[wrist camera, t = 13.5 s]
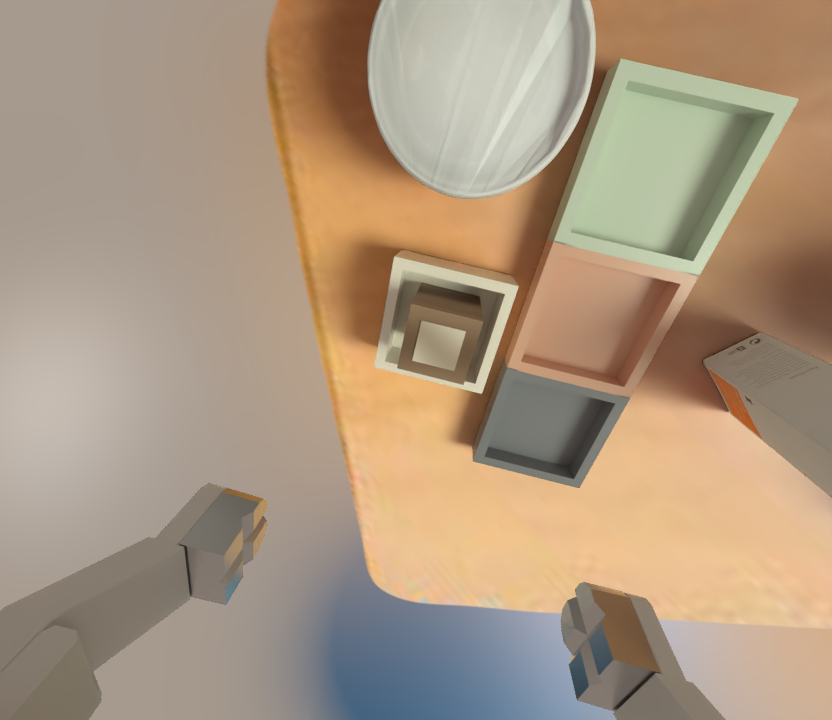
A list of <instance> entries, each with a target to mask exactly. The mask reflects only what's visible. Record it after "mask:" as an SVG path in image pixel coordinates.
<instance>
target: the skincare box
mask: <svg viewBox="0 0 832 720" xmlns="http://www.w3.org/2000/svg"><path fill="white" fill-rule="evenodd" d="M703 363H704V365H705V366H706V368H707V370H708V372H709V373H710V375H711V377H712V379H713V381H714V382H715V384H716V386H717V388H718V390H719V392H720V394H721V396H722V398H723V400H724V402H725V404H726V406H727V408H728V410H729V412H730V414H731V415H733V416H734V417H735V418H736V419H738V420H739V421H740V422H741V423H742V424H743V425H745V426H746V427H747V428H748V429H749V430H751V431H752V432H753V433H754V434H755V435H757V436H758V437H759V438H760V439H762V440H763V441H764V442H765V443H766V444H768V445H769V446H770V447H771V448H773V449H774V450H775V451H776V452H777V453H778V454H780V455H781V456H782V457H783V458H784V459H786V460H787V461H788V462H789V463H790V464H792V465H793V466H794V467H795V468H797V469H798V470H799V471H800V472H801V473H803V474H804V475H805V476H806V477H808V478H809V479H810V480H811V481H812V482H814V483H815V484H816V485H817V486H818V487H820V488H821V489H822V490H823V491H824V492H826V493H827V494H828V495H829V496H830V497H832V364H829V363H827V362H825V361H823V360H821V359H819V358H817V357H814V356H813V355H810V354H808V353H806V352H804V351H802V350H800V349H798V348H796V347H793V346H791V345H789V344H787V343H785V342H783V341H780V340H778V339H776V338H774V337H772V336H770V335H768V334H765V333H763V332H761V333H758V334H756V335H754V336H752V337H749V338H747V339H745V340H743V341H741V342H739V343H737V344H735V345H733V346H731V347H729V348H727V349H725V350H723V351H721V352H719V353H717V354H714V355H712V356H710V357H708V358H706V359H704V360H703Z"/></svg>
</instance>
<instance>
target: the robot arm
mask: <svg viewBox="0 0 832 720" xmlns="http://www.w3.org/2000/svg"><path fill="white" fill-rule="evenodd" d="M266 510H267V499H263V498H260V497H256V496H253V495H250V494H246V493H243V492H239V491H236V490H232V489H229V488H226V487H221V486H217V485H214V484H210V483H208V484H206V485H205V486H203V487H202V488H201V489H200V490H199V491H198V492H197V493H196V494H195V495H194V496H193V497H192V499H191V500H190V501H189V502H188V503H187V504H186V505H185V506H184V507H183V508H182V509H181V511H180V512H179V513H178V514H177V515H176V516H175V517H174V518H173V519H172V520H171V522H170V523H169V524H168V525H167V526H166V527H165V528H164V529H163V530H162V531H161V533H160V534H159V535H158V536H157V537H156V538H150V537H148V538H146V539H144V540H142V541H140V542H138V543H136V544H134V545H132V546H130V547H127V548H125V549H123V550H122V551H119V552H117V553H115V554H113V555H111V556H109V557H107V558H105V559H103V560H101V561H99V562H97V563H95V564H93V565H91V566H89V567H86V568H84V569H82V570H80V571H78V572H76V573H74V574H72V575H70V576H68V577H66V578H64V579H62V580H60V581H58V582H56V583H53V584H51V585H49V586H47V587H45V588H44V589H41V590H39V591H37V592H35V593H33V594H31V595H29V596H27V597H25V598H23V599H21V600H18V601H17V602H14V603H12V604H10V605H8V606H6V607H4V608H3V609H2V610H1V611H0V720H89V718H90V717H91V715H92V714H93V713H94V711H95V710H96V708H97V707H98V706H99V704H100V703H101V690H100V688H99V685H98V683H97V680H96V678H95V675H94V673H93V671H94V670H95V669H97V668H98V667H100V666H101V665H102V664H104V663H105V662H106V661H108V660H109V659H110V658H111V657H113V656H114V655H116V654H117V653H118V652H120V651H121V650H123V649H124V648H125V647H126V646H128V645H129V644H131V643H132V642H133V641H134V640H136V639H137V638H139V637H140V636H141V635H143V634H144V633H145V632H147V631H148V630H149V629H151V628H152V627H153V626H155V625H156V624H157V623H159V622H160V621H162V620H163V619H164V618H166V617H167V616H168V615H170V614H171V613H172V612H174V611H175V610H176V609H178V608H179V607H180V606H182V605H183V604H184V603H186V602H187V601H188V600H190V597H195V598H199V599H203V600H207V601H211V602H216V603H220V604H224V605H226V604H227V603H228V601H229V600H230V598H231V596H232V594H233V593H234V591H235V589H236V588H237V586H238V584H239V583H240V581H241V579H242V578H243V565H245V564H247V563H248V562H249V561H251V560H253V559H254V557H255V555H256V553H257V552H258V550H259V548H260V545H261V543H262V541H263V538H264V536H265V531H266V527H267V520H266V519H265V518H264V516H263V515H264V513H265V511H266ZM575 592H576V596H577V597H575V598H572V599H570V600H568V601H567V602H566V604H565V606H564V607H563V610H562V616H561V629H562V635H563V640H564V643H565V645H566V646H567V648H568V649H569V650H570V652H571V653H572V655H573V656H572V658H571V661H570V663H569V667H570V672H571V676H572V680H573V685H574V689H575V694H576V698H577V700H578V701H582V702H585V703H588V704H591V705H595V706H598V707H601V708H604V709H608V710H611V711H614V712H615V713H614V715H615V717H616V719H617V720H725V719H724V717H722V715H721V714H720V713H719V712H718V711H717V710H716V708H715V707H714V706H713V705H712V704H711V703H710V702H709V701H708V699H707V698H706V697H705V696H704V695H703V694H702V693H701V691H700V690H699V689H698V688H697V687H696V686H695V685H694V684H693V683H691V682H688V681H686V679H685V677H684V675H683V673H682V671H681V668H680V666H679V664H678V662H677V660H676V657H675V656H674V653H673V651H672V649H671V647H670V644H669V643H668V640H667V638H666V636H665V634H664V631H663V629H662V627H661V625H660V623H659V621H658V618H657V616H656V614H655V612H654V610H653V607H652V606H651V604H650V603H649V602H648V600H647V599H646V598H643V597H639V596H635V595H631V594H627V593H623V592H622V591H618V590H614V589H610V588H606V587H602V586H598V585H594V584H590V583H585V582H583V583H580V584H579V585H578V586H577V588H576V589H575Z"/></svg>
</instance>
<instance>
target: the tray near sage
mask: <svg viewBox="0 0 832 720" xmlns="http://www.w3.org/2000/svg"><path fill="white" fill-rule="evenodd" d="M798 100H799V99H798V98H794V97H789V96H785V95H780V94H776V93H771V92H767V91H762V90H758V89H754V88H749V87H745V86H740V85H736V84H731V83H727V82H722V81H718V80H713V79H709V78H705V77H700V76H696V75H691V74H687V73H682V72H678V71H673V70H669V69H665V68H660V67H656V66H651V65H647V64H642V63H638V62H633V61H629V60H624V59H620V60H619V61H618V62H617V63H616V64H614V65H613V66H612V67H611V68H610V69H609V70H608V71H607V73H606V76H605V79H604V81H603V84H602V87H601V90H600V93H599V95H598V98H597V101H596V104H595V107H594V109H593V112H592V115H591V118H590V121H589V123H588V126H587V129H586V132H585V134H584V137H583V140H582V143H581V146H580V148H579V151H578V154H577V157H576V160H575V162H574V165H573V168H572V171H571V173H570V176H569V179H568V182H567V185H566V187H565V190H564V193H563V196H562V199H561V201H560V204H559V207H558V210H557V213H556V215H555V218H554V221H553V224H552V226H551V229H550V232H549V235H548V240H551V241H552V242H554V241H555V243H559V244H564V245H570V246H572V247H573V246H575V247H576V248H577V247H578V248H581V249H585V250H589V251H592V250H593V252H597V253H602V254H606V255H610V256H614V257H618V258H623V259H627V260H631V261H635V262H639V263H644V264H648V265H652V264H653V266H656V267H660V268H665V269H669V270H673V269H674V270H673V271H677V272H682V273H687V274H692V275H694V276H695V274H696V276H698V275H700V274H701V272H702V270H703V268H704V267H705V265H706V263H707V261H708V260H709V258H710V256H711V254H712V252H713V251H714V249H715V247H716V245H717V244H718V242H719V240H720V238H721V237H722V235H723V233H724V231H725V229H726V228H727V226H728V224H729V222H730V221H731V219H732V217H733V215H734V214H735V212H736V210H737V208H738V207H739V205H740V203H741V201H742V199H743V198H744V196H745V194H746V192H747V191H748V189H749V187H750V185H751V184H752V182H753V180H754V178H755V176H756V175H757V173H758V171H759V169H760V168H761V166H762V164H763V162H764V161H765V159H766V157H767V155H768V153H769V152H770V150H771V148H772V146H773V145H774V143H775V141H776V139H777V138H778V136H779V134H780V132H781V130H782V129H783V127H784V125H785V123H786V122H787V120H788V118H789V116H790V115H791V113H792V111H793V109H794V108H795V106H796V104H797V102H798ZM549 238H550V239H549ZM566 243H567V244H566ZM616 255H617V256H616ZM628 258H629V259H628ZM675 269H676V270H675ZM683 271H684V272H683ZM698 277H699V276H698Z"/></svg>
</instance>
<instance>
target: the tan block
mask: <svg viewBox="0 0 832 720" xmlns="http://www.w3.org/2000/svg"><path fill="white" fill-rule="evenodd" d="M483 322H484V321H483V314H482V308H481V302H480V296H476V295H472V294H468V293H463V292H459V291H455V290H451V289H447V288H443V287H439V286H435V285H431V284H427V283H423V282H422V283H421V285H420V287H419V289H418V291H417V293H416V295H415V297H414V299H413V301H412V303H411V306H410V311H409V315H408V320H407V325H406V329H405V334H404V338H403V343H402V348H401V353H400V357H399V362H398V366H397V368H398V369H402V370H406V371H410V372H414V373H418V374H422V375H426V376H430V377H434V378H438V379H442V380H446V381H449V382H453V383H457V384H461V385H464V382H465V379H466V376H467V372H468V369H469V366H470V363H471V360H472V357H473V354H474V350H475V347H476V344H477V341H478V338H479V335H480V332H481V328H482V325H483Z"/></svg>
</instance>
